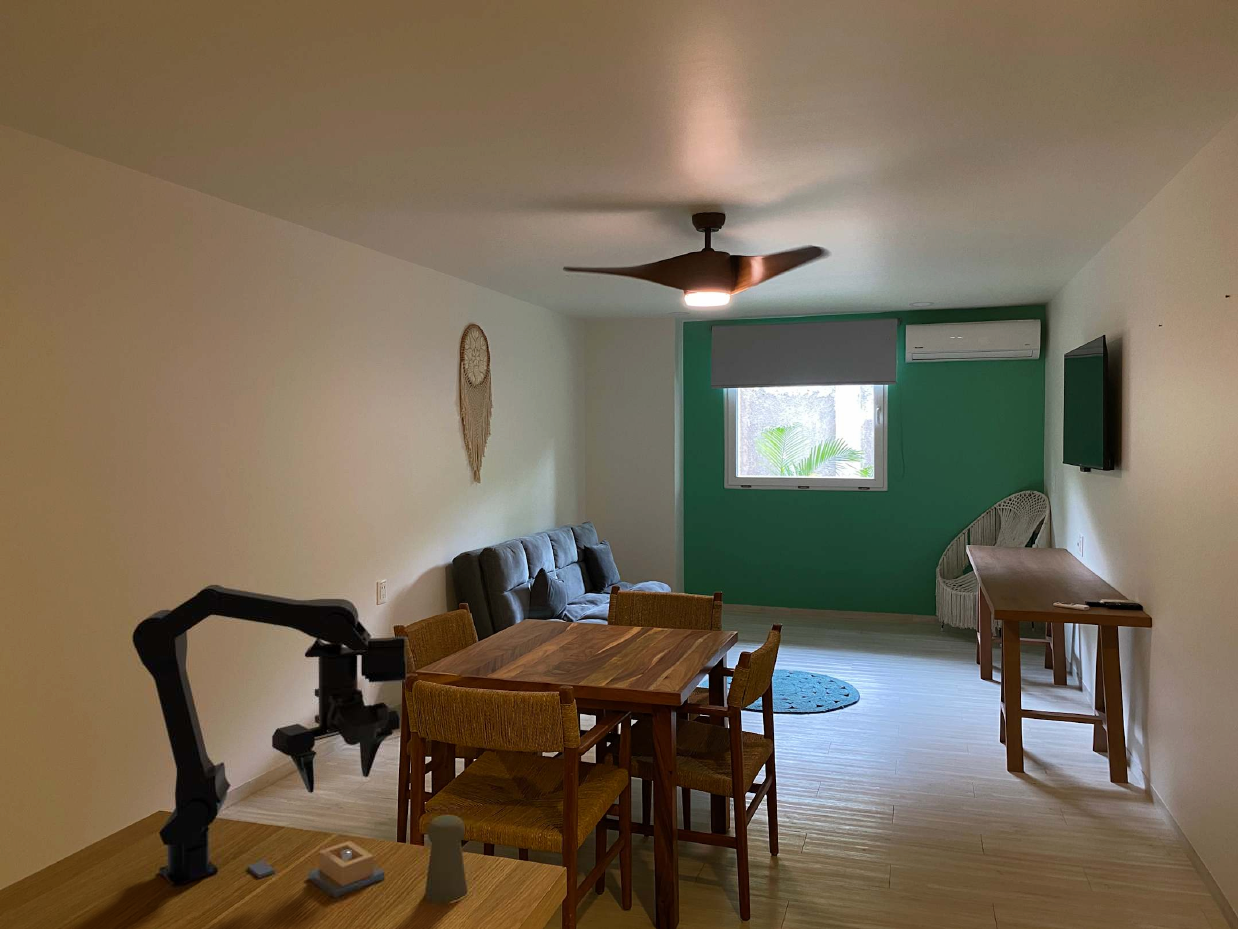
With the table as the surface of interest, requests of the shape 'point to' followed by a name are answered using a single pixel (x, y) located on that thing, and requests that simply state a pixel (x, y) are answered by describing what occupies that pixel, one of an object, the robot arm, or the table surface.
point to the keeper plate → (339, 890)
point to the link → (346, 863)
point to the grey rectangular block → (261, 869)
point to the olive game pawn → (445, 860)
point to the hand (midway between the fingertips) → (338, 784)
